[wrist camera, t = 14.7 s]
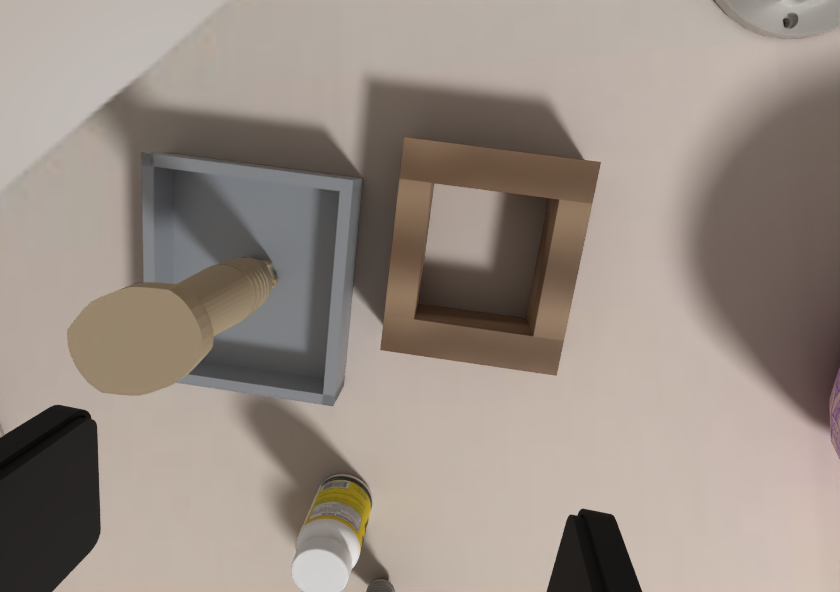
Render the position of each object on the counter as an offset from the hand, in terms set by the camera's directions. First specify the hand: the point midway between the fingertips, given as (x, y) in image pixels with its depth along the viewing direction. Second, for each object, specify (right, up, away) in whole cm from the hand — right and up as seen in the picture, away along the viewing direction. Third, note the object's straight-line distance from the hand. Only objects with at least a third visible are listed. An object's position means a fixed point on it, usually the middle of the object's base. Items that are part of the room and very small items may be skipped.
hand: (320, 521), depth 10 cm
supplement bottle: (-4, -12, +34) cm, 36 cm away
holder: (+6, +8, +27) cm, 29 cm away
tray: (-10, +6, +29) cm, 31 cm away
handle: (-10, +6, +28) cm, 30 cm away
